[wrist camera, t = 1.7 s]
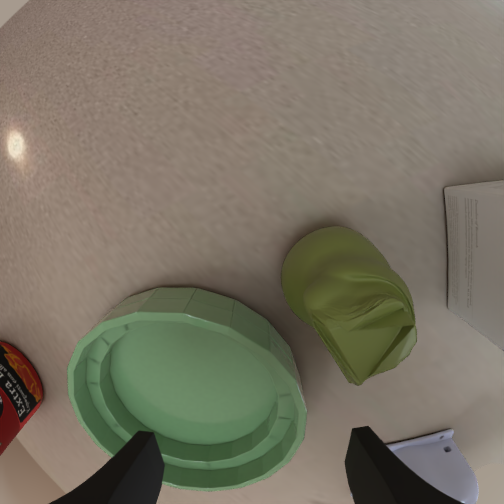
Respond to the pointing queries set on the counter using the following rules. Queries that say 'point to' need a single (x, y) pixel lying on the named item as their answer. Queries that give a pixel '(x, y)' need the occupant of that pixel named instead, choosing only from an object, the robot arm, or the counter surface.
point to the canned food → (16, 393)
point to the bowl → (191, 387)
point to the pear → (350, 301)
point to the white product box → (477, 256)
